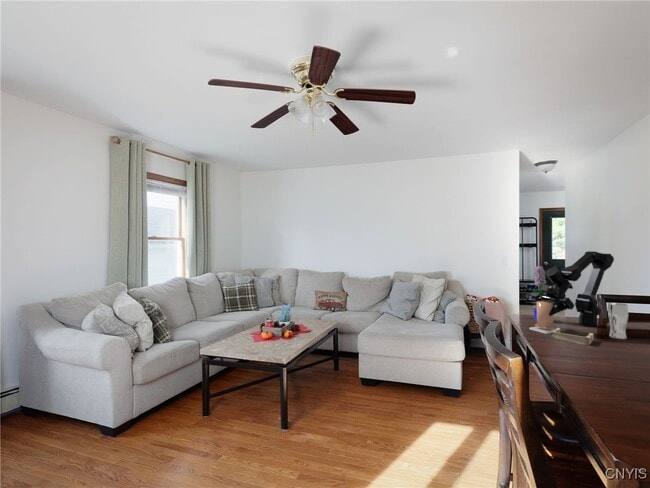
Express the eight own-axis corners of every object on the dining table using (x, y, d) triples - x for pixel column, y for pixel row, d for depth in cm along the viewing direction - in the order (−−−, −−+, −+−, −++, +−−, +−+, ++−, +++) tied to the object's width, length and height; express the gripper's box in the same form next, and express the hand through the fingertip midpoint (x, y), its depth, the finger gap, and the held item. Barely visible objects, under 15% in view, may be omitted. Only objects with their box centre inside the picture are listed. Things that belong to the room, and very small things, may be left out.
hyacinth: (557, 322, 182) (557, 266, 182) (535, 321, 184) (535, 266, 184) (549, 318, 191) (549, 264, 191) (529, 318, 193) (529, 264, 193)
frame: (557, 334, 160) (557, 327, 160) (593, 340, 150) (593, 333, 150) (551, 338, 153) (551, 332, 153) (588, 345, 143) (588, 338, 143)
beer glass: (620, 335, 158) (620, 302, 157) (632, 339, 151) (632, 305, 150) (604, 335, 158) (604, 302, 158) (615, 339, 151) (615, 305, 151)
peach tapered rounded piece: (543, 324, 171) (543, 300, 171) (556, 328, 165) (556, 303, 164) (533, 326, 169) (533, 301, 169) (546, 329, 162) (546, 304, 162)
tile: (543, 327, 172) (543, 325, 172) (560, 332, 164) (560, 330, 164) (529, 329, 170) (529, 327, 170) (546, 333, 161) (546, 332, 161)
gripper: (533, 276, 177) (517, 299, 173) (569, 280, 159) (552, 306, 156) (545, 291, 179) (529, 314, 176) (581, 296, 161) (564, 322, 158)
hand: (542, 313), depth 166 cm, fingers closed on peach tapered rounded piece, 7 cm apart
